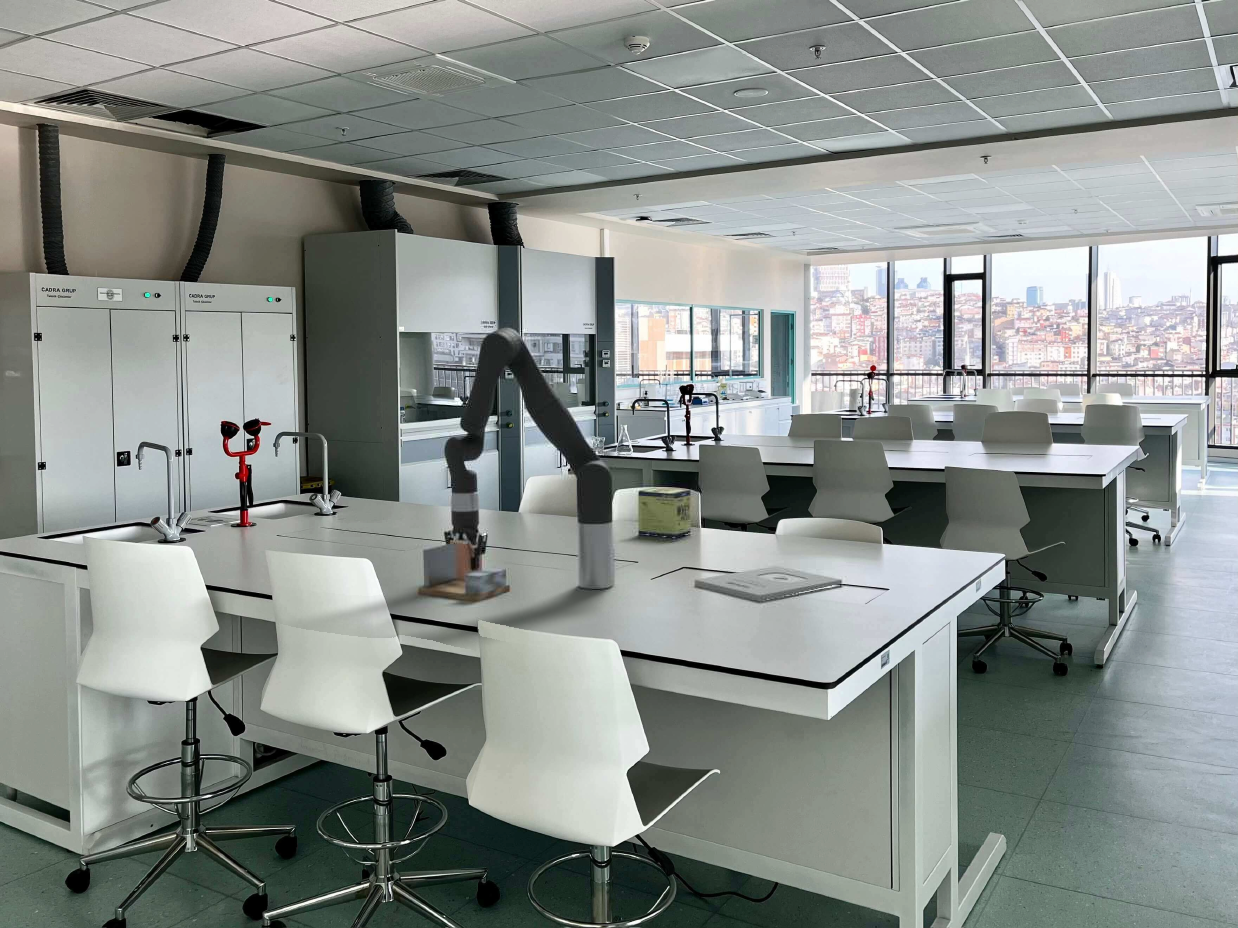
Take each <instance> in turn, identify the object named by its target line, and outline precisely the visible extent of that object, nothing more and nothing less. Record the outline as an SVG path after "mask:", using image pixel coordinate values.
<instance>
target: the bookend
mask: <svg viewBox="0 0 1238 928" xmlns="http://www.w3.org/2000/svg"><path fill="white" fill-rule="evenodd" d="M422 551H423V552H422V553H423V554H422V555H423V556H422V557H423V586H433V585H436V584H440V583H444V582H447V581H451V580H455V579H457V573H456V544H447V545H446V544H443V545H439V546H434V547H429V548H426V549H422Z"/></svg>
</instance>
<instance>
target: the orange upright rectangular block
mask: <svg viewBox="0 0 1238 928" xmlns="http://www.w3.org/2000/svg"><path fill="white" fill-rule="evenodd" d="M477 539H478V537H477ZM477 542H478V540H477ZM450 544H456V573H457V579H464V580H465V575H467V574H471V573H474V572H478V571H482V570H483V559H482V558H483V555H480V557H479V568H478V570H476V571H472V570H471V557H472V556H471V553H470V550H469V549H468V546H469V545H468V541H465V540H455V539H454V540H453V541H450ZM471 545H472V546H473V545H475V542H474V544H471ZM474 551H475V550H474Z"/></svg>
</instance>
